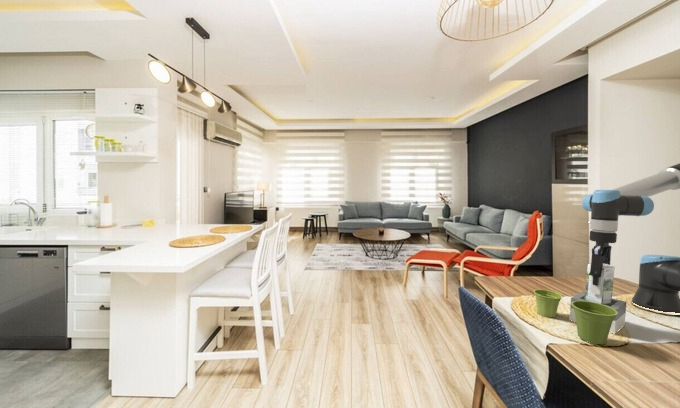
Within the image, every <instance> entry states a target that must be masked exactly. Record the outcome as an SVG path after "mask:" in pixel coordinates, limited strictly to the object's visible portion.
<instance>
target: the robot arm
mask: <svg viewBox="0 0 680 408" xmlns="http://www.w3.org/2000/svg"><path fill="white" fill-rule="evenodd" d="M669 190H671V191H675V190H680V162H679V163H677V164H676V163H675V164H674V165H671V166H668V167H665V168H663V169H661V170H660V171H659V172H658V173H655V174H653V175H650V176H647V177H644V178H642V179H639V180H635V181H633V182H630V183H627V184H625V185H622V186H619V187H616V188H613V189H595V190H594V191H593V192H592V194H591V193H590V194H586V195H585V196H584V197H583V199H582V201H581V205H582V208H583V209H584V210H585V211H586V212H587V211H588V212H591V215H590V221H588V224H590V228H589V229H591V230H590V231H589V240H590V241H591V242H595V245H594V246H593V247H592V248H591V259H590V263H591V268H590V273H589V275H591V276H592V280H591V293H594V294H598V295H601V282H602V277H601V272H602V267H603V263H604V264H608V265H611V256H612V255H611V254H612V248H613V247H612V245H610V244H616V243H617V239H618V238H617V237H618V234H617V233H616V232H618V227H619V216H629V217H645V216H648V215H650V214H651V213H653V211H654V209H655V203H654V200H653V199H652V198H651V197H652V196H654V195H658V194H660V193H664V192H666V191H669ZM638 277H639V278H638V288H637V289H636V291H635V293H634V295H633V296H632V298H631V303H632V302H633V303H635V304H637V305H639V306H642V307H645V308H649V309H654V310H658V311H663V312H675V313H680V295H679V293H680V256H675V255H674V256H673V255H665V254H664V255H663V254H662V255H661V254H645V255H642V256H641V257H640V262H639V276H638Z"/></svg>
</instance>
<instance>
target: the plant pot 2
mask: <svg viewBox="0 0 680 408" xmlns="http://www.w3.org/2000/svg"><path fill="white" fill-rule="evenodd" d="M571 304H572V306H573V308H574V312H575V317H576V331H577V332H576V333H577V336H579V337H580V338H581V340H582V339H583V341H585V342H587V341H588V342H587V343H589V342H590V343H589V344H591V343H594V344H593V345H597V344H601V345H600V346H602V344H603V345H606V343H607V341H608V338H609V334H610V333H609V331H610V328H611V325H612V322H613V321H614V318H615V316H616V315H617V314H618V312H617V311H616V310H615V309H613V308H611V307H609V306H606V305H603V304H599V303H595V302H590V301H573V302H571V301H570V305H571ZM579 337H578V338H579ZM580 338H579V339H580Z"/></svg>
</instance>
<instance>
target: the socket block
mask: <svg viewBox="0 0 680 408" xmlns="http://www.w3.org/2000/svg"><path fill="white" fill-rule="evenodd" d="M573 301H587V300H585V291H580V292H579V293H577V294H575V295H573V296H571V297H570V306H569V307H570V309H569V311H570V312H569V321H570V320H572V321H575V322H576V317H575V312H574V308H573V306H572V304H571V302H573ZM590 302H591V301H590ZM605 305H606V306H609V307H611V308H613V309H615V310H616V311H617V312H618V314H617V315H616V316H615V318H614V321H613V322H612V325H611V328H610V331H609V332H610V333H614V334H615V333H616V332H617V331H618V330H619V329H620V328H621V327H622V326H623V327H625V325H626V314H627V312H626V311H627V301H625V300H620V299H616V298H613V297H612V300H611V304H605ZM572 321H571V322H572ZM575 322H574V323H575ZM623 327H622V328H623ZM622 328H621V329H622ZM621 329H620V330H621ZM620 330H619V331H620ZM619 331H618V332H619ZM618 332H617V333H618ZM610 333H609V334H610ZM617 333H616V334H617ZM616 334H615V335H616Z"/></svg>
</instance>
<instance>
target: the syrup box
mask: <svg viewBox="0 0 680 408" xmlns="http://www.w3.org/2000/svg"><path fill="white" fill-rule="evenodd" d="M590 268H591V262H589V263H587V269H586V281H585V291H584V292H585V300H587V301H591V302H595V303H599V304H603V305H605V304H611V300H612V298H613V288H614V279H615V278H614V277H615V266H614V265H611V264H610V265H608V264H604V263H603V267H602V272H601V277H602V282H601V295H598V294H594V293H591V280H592V276H591V275H589V273H590Z"/></svg>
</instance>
